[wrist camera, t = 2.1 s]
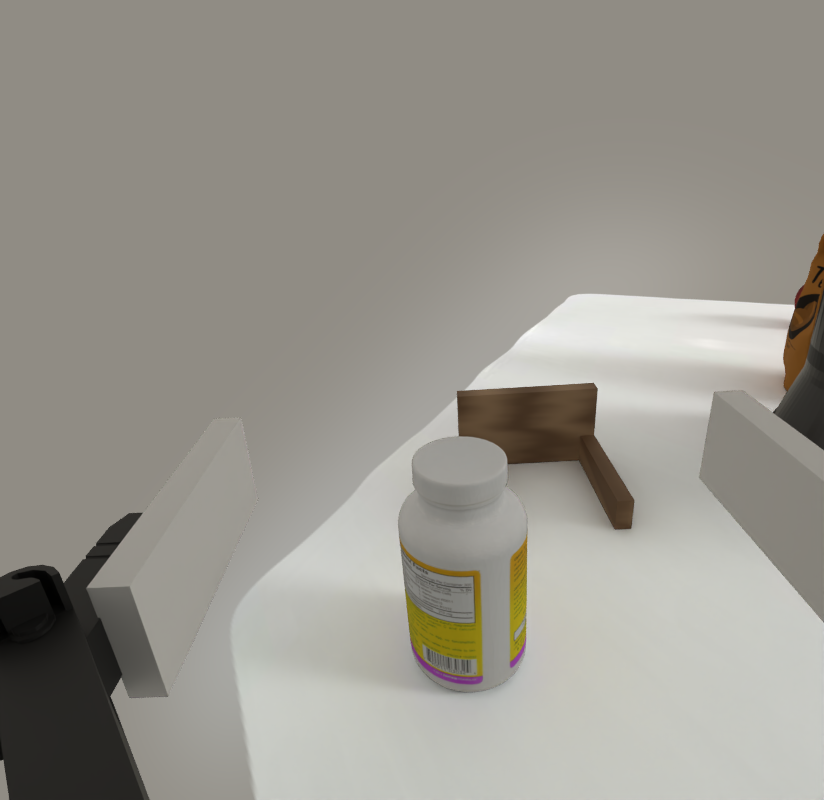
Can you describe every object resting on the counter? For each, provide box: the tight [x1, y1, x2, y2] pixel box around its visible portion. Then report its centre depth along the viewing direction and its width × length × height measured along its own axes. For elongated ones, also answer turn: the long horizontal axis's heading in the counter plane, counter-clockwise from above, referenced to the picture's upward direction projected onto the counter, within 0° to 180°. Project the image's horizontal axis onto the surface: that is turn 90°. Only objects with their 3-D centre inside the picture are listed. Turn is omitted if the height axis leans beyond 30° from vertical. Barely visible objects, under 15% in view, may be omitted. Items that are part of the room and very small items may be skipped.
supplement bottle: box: [398, 436, 527, 692], centre depth 30 cm, size 7×7×13 cm
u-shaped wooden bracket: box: [457, 383, 634, 529], centre depth 45 cm, size 12×11×7 cm
